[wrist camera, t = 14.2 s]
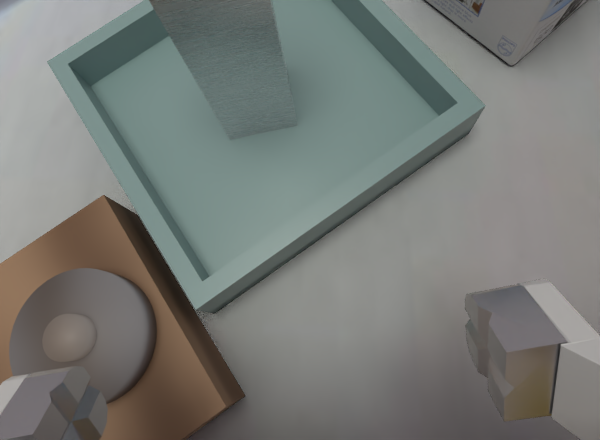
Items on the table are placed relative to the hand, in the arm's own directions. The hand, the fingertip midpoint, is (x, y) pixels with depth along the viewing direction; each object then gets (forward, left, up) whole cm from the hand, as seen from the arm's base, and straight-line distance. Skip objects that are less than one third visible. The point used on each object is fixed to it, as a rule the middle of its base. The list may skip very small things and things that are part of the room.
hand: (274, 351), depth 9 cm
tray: (-5, -11, -10) cm, 15 cm away
